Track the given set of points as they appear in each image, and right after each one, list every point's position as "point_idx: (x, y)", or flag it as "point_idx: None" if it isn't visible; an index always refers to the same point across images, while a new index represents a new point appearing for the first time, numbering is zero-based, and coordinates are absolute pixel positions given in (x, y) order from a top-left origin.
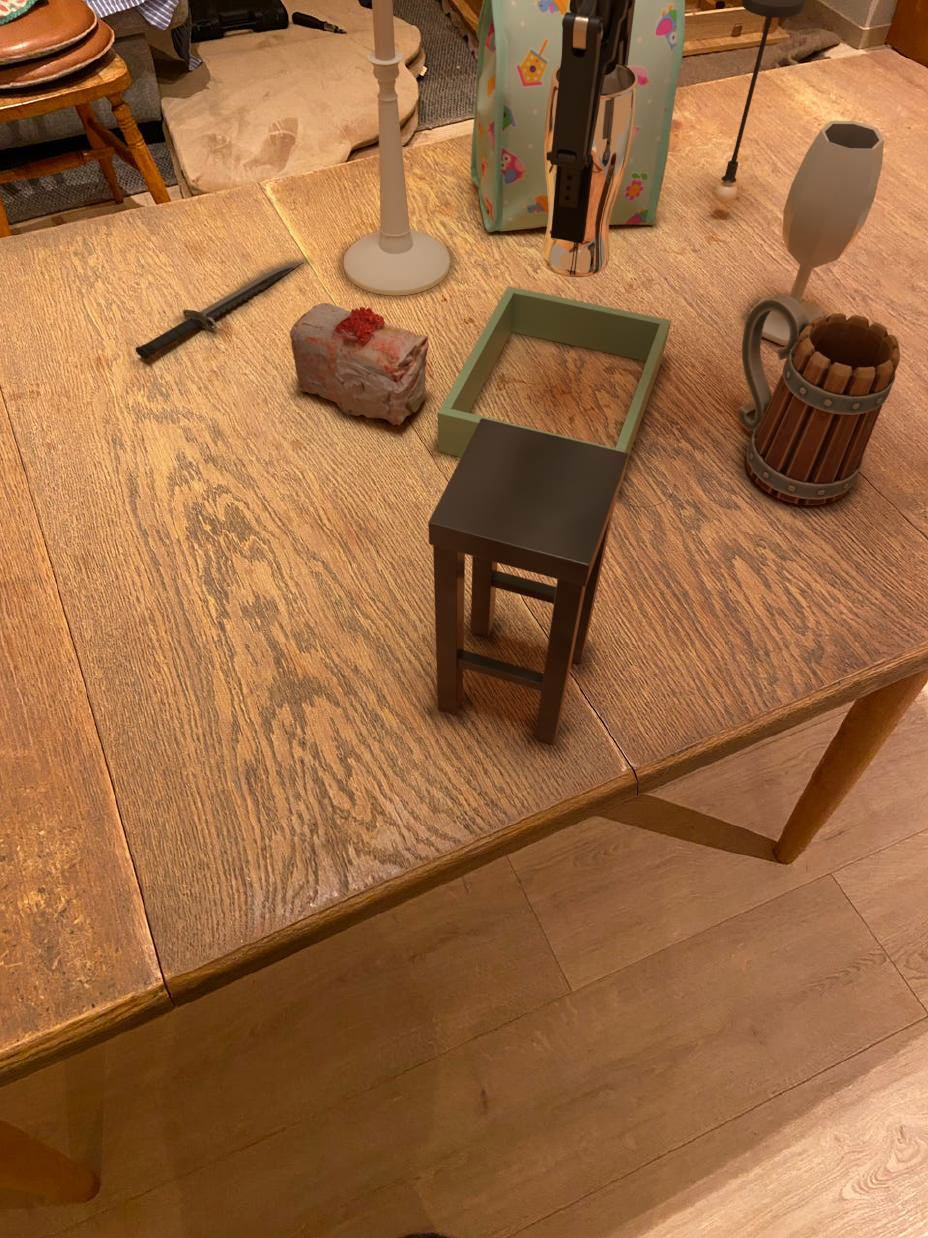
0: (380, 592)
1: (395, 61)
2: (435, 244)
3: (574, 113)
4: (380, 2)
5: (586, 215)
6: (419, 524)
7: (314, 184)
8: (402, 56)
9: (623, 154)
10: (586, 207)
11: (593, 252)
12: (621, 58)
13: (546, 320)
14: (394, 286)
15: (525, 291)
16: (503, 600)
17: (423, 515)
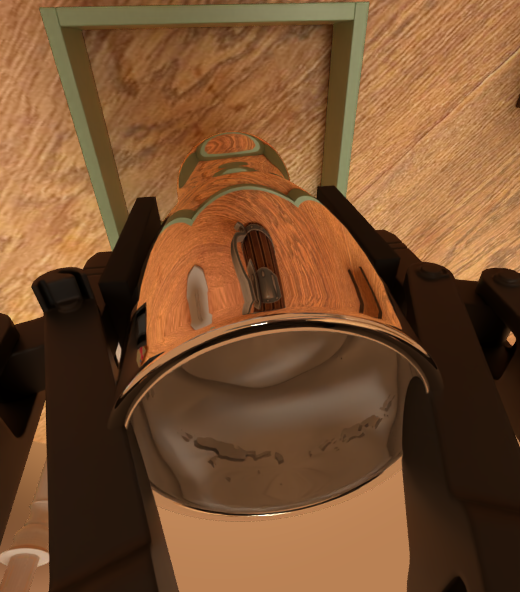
0: (484, 194)
1: (27, 549)
2: None
3: None
4: None
5: (340, 203)
6: (413, 196)
7: (40, 440)
8: (7, 551)
9: (299, 197)
10: (357, 211)
11: (274, 161)
12: (67, 436)
13: (116, 194)
14: None
15: (110, 234)
16: (495, 89)
17: (402, 198)
